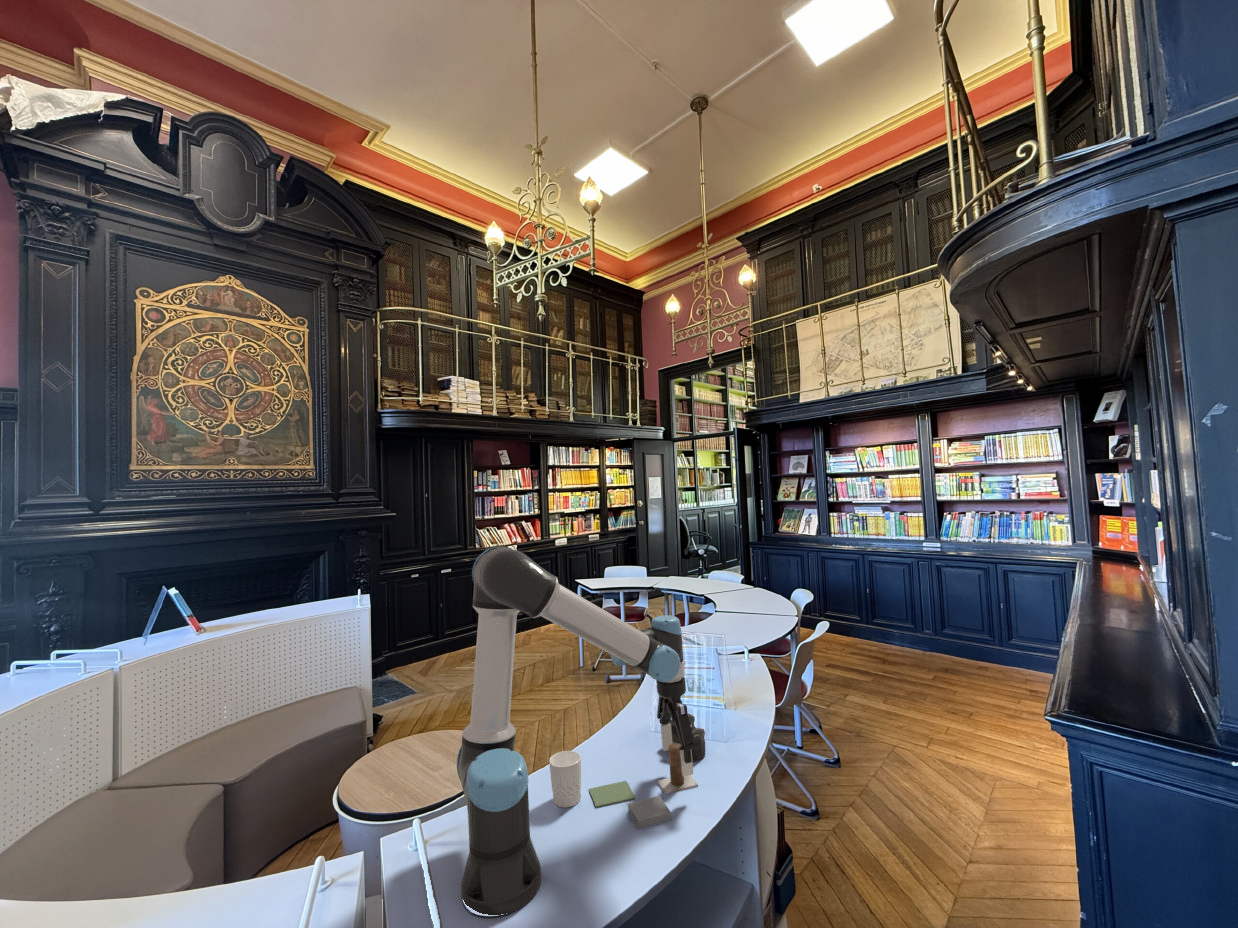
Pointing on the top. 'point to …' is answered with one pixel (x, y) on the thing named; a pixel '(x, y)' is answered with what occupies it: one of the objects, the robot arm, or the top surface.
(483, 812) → the robot arm
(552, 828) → the top surface
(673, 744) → the wooden handled stamp
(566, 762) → the white cup
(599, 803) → the pad
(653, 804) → the tile
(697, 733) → the camera
